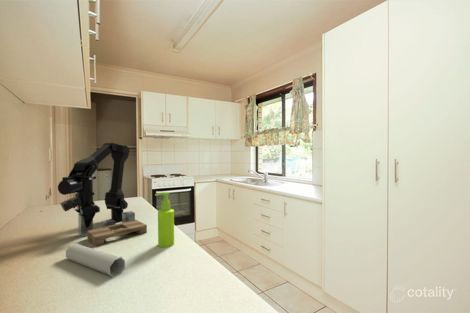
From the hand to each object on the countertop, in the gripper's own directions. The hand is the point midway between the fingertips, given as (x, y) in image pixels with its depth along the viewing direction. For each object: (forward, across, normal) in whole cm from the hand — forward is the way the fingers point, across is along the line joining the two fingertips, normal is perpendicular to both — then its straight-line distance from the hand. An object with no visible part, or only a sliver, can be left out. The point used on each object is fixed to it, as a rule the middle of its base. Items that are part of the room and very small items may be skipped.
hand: (85, 226), depth 99 cm
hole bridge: (+4, +12, +9) cm, 15 cm away
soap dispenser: (+4, +35, +18) cm, 40 cm away
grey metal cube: (+4, 0, +9) cm, 10 cm away
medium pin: (+4, 0, +18) cm, 18 cm away
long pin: (+4, 0, 0) cm, 4 cm away
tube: (+4, +33, -6) cm, 34 cm away
